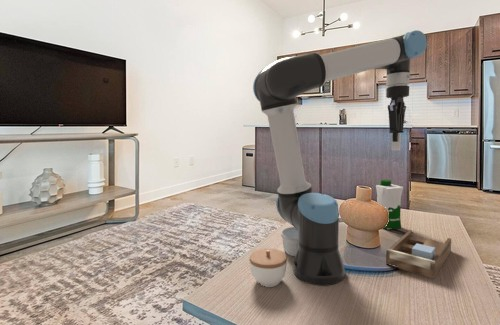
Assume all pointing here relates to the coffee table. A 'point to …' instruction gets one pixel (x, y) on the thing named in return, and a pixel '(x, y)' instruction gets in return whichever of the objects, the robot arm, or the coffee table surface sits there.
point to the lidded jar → (268, 266)
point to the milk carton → (390, 201)
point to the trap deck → (406, 261)
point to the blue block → (423, 251)
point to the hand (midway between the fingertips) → (395, 150)
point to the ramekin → (290, 240)
